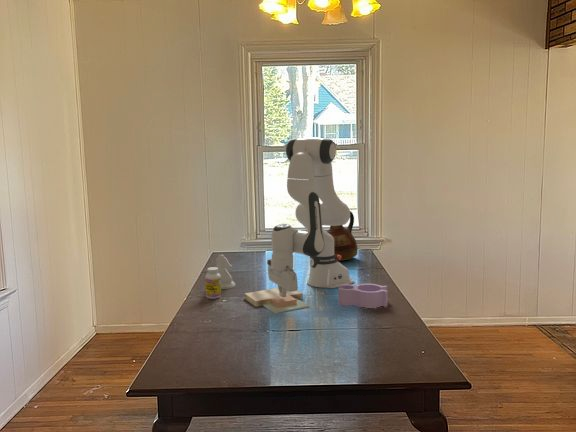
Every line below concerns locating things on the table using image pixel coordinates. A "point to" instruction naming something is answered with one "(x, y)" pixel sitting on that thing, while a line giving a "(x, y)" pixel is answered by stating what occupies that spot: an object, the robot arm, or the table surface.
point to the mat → (286, 307)
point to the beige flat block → (268, 296)
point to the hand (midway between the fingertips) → (282, 296)
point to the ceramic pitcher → (344, 240)
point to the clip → (362, 295)
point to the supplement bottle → (213, 283)
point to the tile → (283, 301)
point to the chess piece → (224, 272)
